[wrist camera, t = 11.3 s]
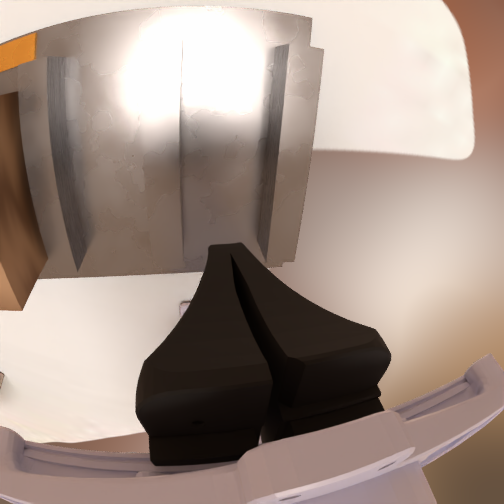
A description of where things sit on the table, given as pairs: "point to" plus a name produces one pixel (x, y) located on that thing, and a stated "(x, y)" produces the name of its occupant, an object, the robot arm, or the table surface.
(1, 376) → the coffee box
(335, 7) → the table surface
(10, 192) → the brown wooden block
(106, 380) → the table surface
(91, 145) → the rack
